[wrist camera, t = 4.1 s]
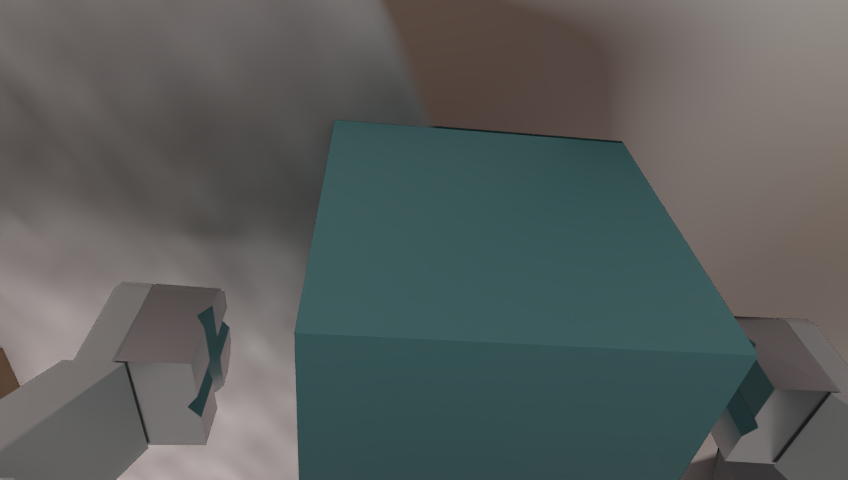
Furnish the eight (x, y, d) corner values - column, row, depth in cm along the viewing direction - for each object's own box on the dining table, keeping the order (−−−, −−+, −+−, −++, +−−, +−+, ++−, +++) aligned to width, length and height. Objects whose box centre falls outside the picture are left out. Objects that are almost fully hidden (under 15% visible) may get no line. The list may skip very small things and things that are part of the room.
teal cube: (622, 140, 11) (758, 355, 7) (555, 340, 14) (621, 571, 10) (335, 118, 10) (295, 332, 6) (331, 328, 13) (302, 567, 9)
